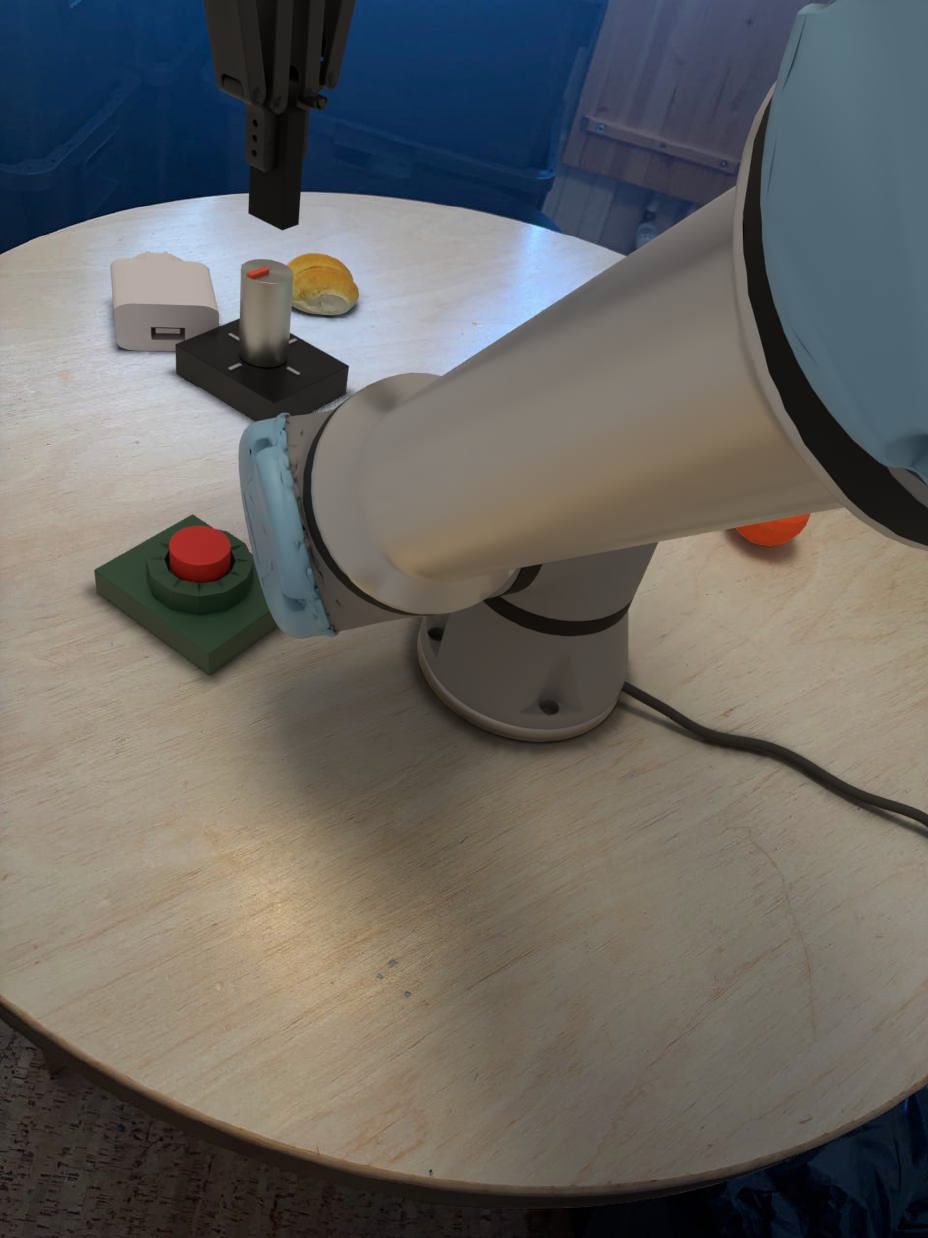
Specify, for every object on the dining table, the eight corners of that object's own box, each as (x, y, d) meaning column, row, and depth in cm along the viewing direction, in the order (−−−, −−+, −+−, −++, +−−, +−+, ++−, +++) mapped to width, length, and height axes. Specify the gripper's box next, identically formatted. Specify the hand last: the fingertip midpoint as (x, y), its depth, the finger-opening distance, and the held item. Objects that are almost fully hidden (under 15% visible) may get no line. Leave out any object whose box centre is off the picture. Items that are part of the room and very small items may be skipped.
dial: (263, 336, 89) (266, 250, 83) (298, 357, 87) (304, 271, 82) (228, 351, 86) (229, 263, 80) (264, 372, 84) (268, 284, 79)
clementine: (696, 509, 87) (725, 445, 82) (755, 501, 90) (787, 438, 85) (746, 567, 83) (780, 502, 78) (806, 556, 85) (843, 493, 80)
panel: (346, 393, 90) (349, 364, 88) (272, 432, 84) (274, 401, 81) (253, 339, 94) (254, 310, 92) (175, 373, 87) (174, 342, 85)
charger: (203, 277, 101) (219, 352, 91) (110, 273, 98) (116, 350, 88) (202, 233, 97) (219, 306, 88) (107, 227, 94) (113, 303, 85)
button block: (301, 609, 69) (305, 569, 66) (209, 676, 63) (209, 634, 60) (193, 535, 72) (192, 494, 70) (96, 592, 66) (91, 549, 64)
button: (242, 564, 66) (243, 545, 65) (199, 592, 63) (199, 573, 62) (201, 536, 67) (201, 517, 66) (157, 562, 65) (156, 543, 63)
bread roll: (346, 278, 107) (350, 243, 104) (362, 318, 101) (367, 283, 98) (272, 274, 104) (273, 239, 101) (284, 316, 98) (287, 279, 95)
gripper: (327, -316, 47) (296, 174, 63) (119, -361, 38) (146, 220, 54) (451, -280, 45) (386, 217, 61) (261, -320, 36) (245, 272, 52)
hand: (273, 218), depth 58 cm, fingers closed
